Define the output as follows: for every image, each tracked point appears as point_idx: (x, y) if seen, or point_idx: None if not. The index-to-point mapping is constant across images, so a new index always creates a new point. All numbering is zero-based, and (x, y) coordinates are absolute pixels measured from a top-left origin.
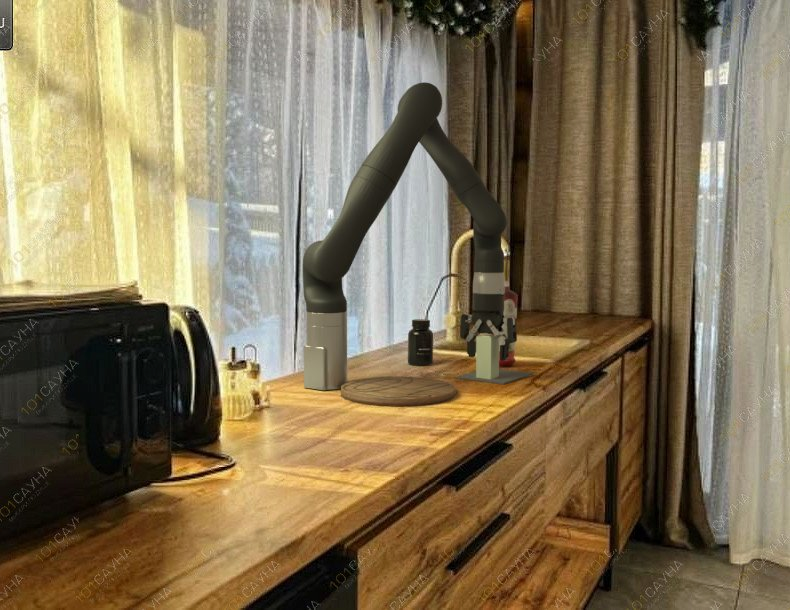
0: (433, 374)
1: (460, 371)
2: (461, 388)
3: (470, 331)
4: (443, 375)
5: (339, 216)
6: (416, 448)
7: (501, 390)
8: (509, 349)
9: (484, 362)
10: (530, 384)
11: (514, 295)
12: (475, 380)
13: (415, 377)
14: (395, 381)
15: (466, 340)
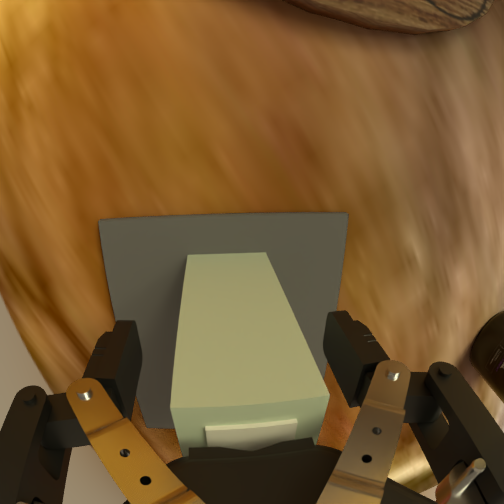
0: (440, 233)
1: (380, 337)
2: (208, 26)
3: (402, 412)
4: (408, 238)
5: None
6: None
7: (48, 106)
8: None
9: (225, 289)
10: (40, 286)
11: None
12: (245, 213)
13: (424, 19)
14: None
15: (402, 369)
